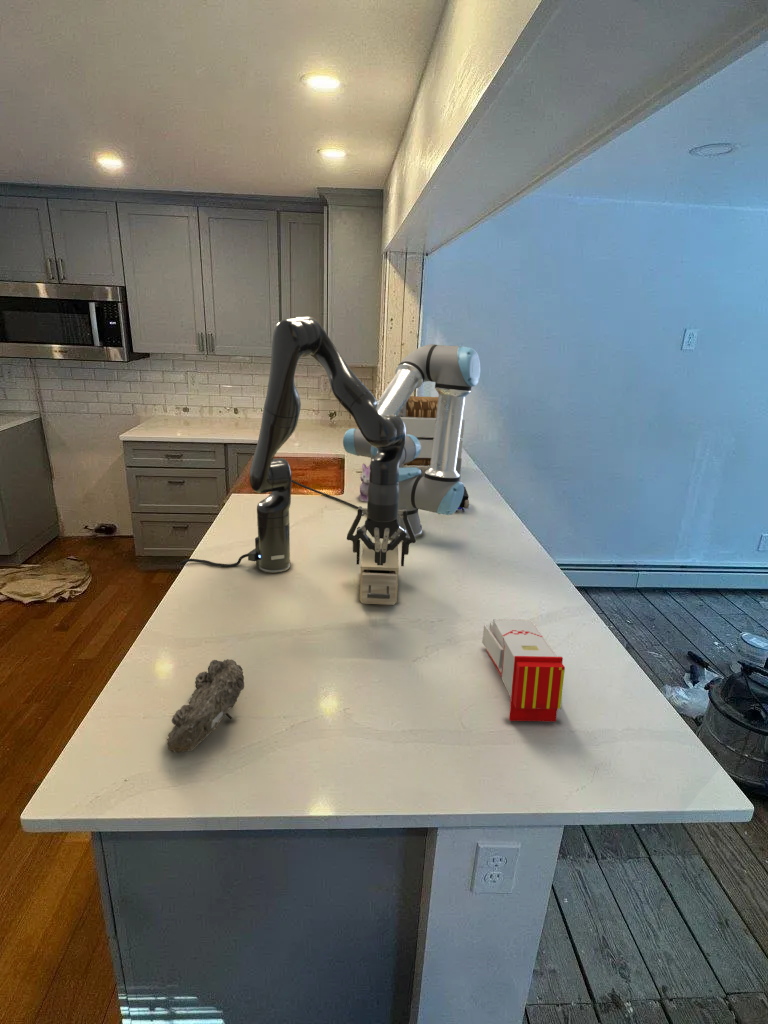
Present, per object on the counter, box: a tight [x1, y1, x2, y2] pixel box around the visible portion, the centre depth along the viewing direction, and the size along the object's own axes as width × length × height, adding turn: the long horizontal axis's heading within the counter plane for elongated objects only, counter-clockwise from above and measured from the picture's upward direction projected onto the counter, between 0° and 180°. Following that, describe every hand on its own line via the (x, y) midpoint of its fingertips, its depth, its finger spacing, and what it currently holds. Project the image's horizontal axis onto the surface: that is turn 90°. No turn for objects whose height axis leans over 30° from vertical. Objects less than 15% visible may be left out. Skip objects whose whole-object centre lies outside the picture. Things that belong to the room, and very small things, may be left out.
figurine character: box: [455, 486, 470, 513], centre depth 227 cm, size 7×8×15 cm
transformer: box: [398, 395, 465, 482], centre depth 268 cm, size 34×33×41 cm
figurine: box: [358, 463, 370, 503], centre depth 232 cm, size 9×10×15 cm
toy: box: [481, 618, 566, 722], centre depth 122 cm, size 12×13×30 cm
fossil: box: [166, 658, 245, 754], centre depth 106 cm, size 22×10×15 cm
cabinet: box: [359, 542, 400, 604], centre depth 159 cm, size 16×10×10 cm, turn 179°
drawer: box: [361, 570, 396, 606], centre depth 153 cm, size 21×9×8 cm, turn 0°
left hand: (380, 564), depth 143 cm, fingers closed
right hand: (380, 563), depth 162 cm, fingers open, 12 cm apart
